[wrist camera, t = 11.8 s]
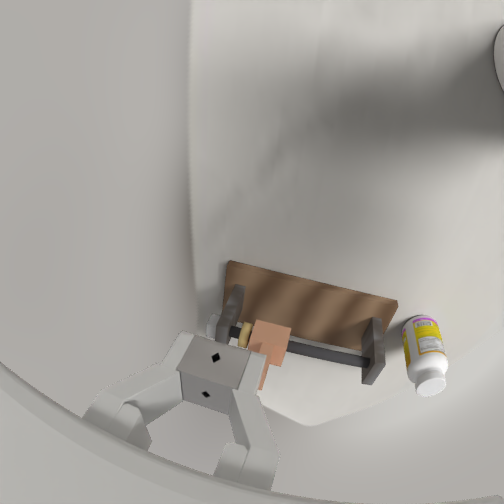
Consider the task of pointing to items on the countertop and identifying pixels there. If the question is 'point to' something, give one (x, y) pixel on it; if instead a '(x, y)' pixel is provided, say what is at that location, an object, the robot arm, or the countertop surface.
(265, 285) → the towel rod holder
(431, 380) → the supplement bottle
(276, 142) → the countertop surface
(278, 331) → the peach stepped block
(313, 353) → the dark gray rod
